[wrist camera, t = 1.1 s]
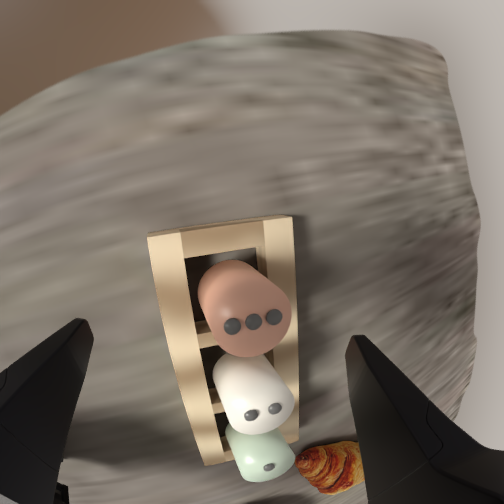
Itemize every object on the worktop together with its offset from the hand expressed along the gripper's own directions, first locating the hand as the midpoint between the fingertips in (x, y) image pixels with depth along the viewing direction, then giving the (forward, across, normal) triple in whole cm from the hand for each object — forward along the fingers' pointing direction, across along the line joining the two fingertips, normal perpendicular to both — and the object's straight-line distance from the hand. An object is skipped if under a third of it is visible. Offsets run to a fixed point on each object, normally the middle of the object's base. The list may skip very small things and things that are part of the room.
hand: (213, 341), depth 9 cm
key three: (+12, 0, +7) cm, 13 cm away
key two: (+9, -1, +14) cm, 17 cm away
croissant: (+9, -15, +38) cm, 42 cm away
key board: (+12, 0, +15) cm, 19 cm away
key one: (+7, -2, +21) cm, 22 cm away
